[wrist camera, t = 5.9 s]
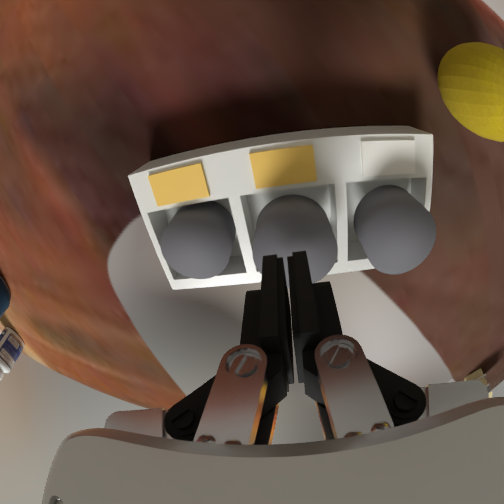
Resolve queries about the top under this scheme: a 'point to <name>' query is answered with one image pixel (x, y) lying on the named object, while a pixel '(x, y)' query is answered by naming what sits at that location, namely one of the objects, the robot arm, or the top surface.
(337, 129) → the button board
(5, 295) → the soda can
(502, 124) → the lemon
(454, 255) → the top surface
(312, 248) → the middle button
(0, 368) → the pill bottle
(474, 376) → the stacked layers on plate
